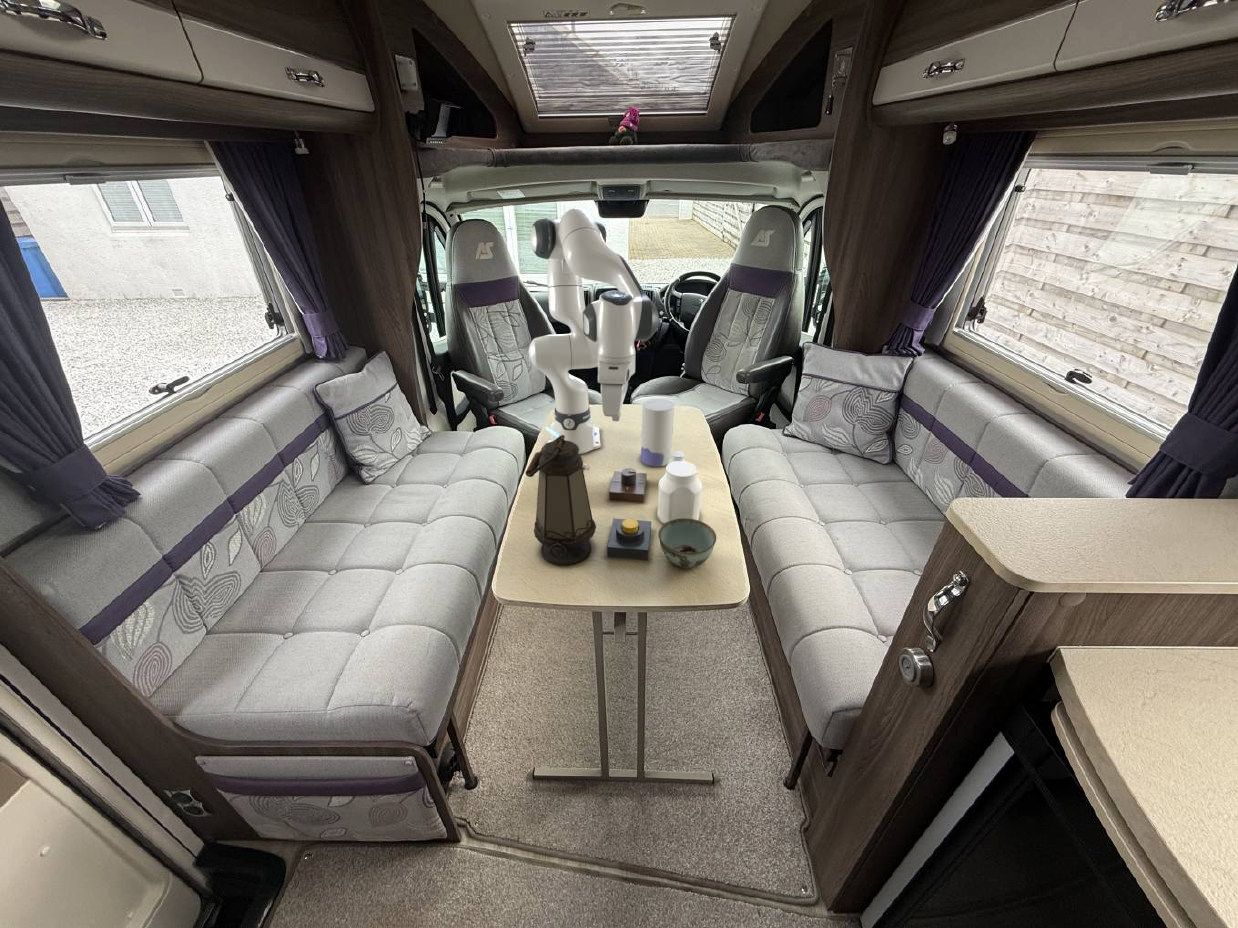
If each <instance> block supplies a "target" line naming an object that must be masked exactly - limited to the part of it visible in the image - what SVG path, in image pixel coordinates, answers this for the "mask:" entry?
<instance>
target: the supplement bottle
mask: <svg viewBox="0 0 1238 928" xmlns="http://www.w3.org/2000/svg"><path fill="white" fill-rule="evenodd" d="M675 461H685V462H687V461H686V459H685V452H683V451H682V450H673V451H671V458H670V459H669V462H668V464H669V463H671V462H675ZM668 464H667V465H668Z"/></svg>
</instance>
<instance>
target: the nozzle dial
mask: <svg viewBox="0 0 1238 928" xmlns="http://www.w3.org/2000/svg"><path fill="white" fill-rule="evenodd" d="M620 472H621V483H622V484H623V485H625V486H632V485H634V484H635V483H636V473H637V470H636V469H634V468H632V467H631V468H630V467H628V468H627V467H626V468H623V469H622V470H621V471H620Z"/></svg>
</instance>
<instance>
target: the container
mask: <svg viewBox="0 0 1238 928" xmlns="http://www.w3.org/2000/svg"><path fill="white" fill-rule="evenodd" d="M641 407H642V409H641V440H640V444H641V445H640V461H641V462H642V463H643V464H644V465H647V466H649V467H656V468H657V467H666V466H667V465H668V462H669V459H670V458H671V453H672V452H673V451H672V450H673V436H674V435H673V434H674V420H675V418H674V417H675V403H674V402H673V401H671V400H670V399H667V398H666V399H665V398H649V399H646V400H644V401H643V402H642V406H641Z"/></svg>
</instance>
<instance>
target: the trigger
mask: <svg viewBox="0 0 1238 928" xmlns="http://www.w3.org/2000/svg"><path fill="white" fill-rule="evenodd" d="M625 519H626V520H624V521H623V522H622V530H623V531H624V532H625V533H636V532H637V531H638V522H637V521H636V520H637V519H634V518H625Z"/></svg>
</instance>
